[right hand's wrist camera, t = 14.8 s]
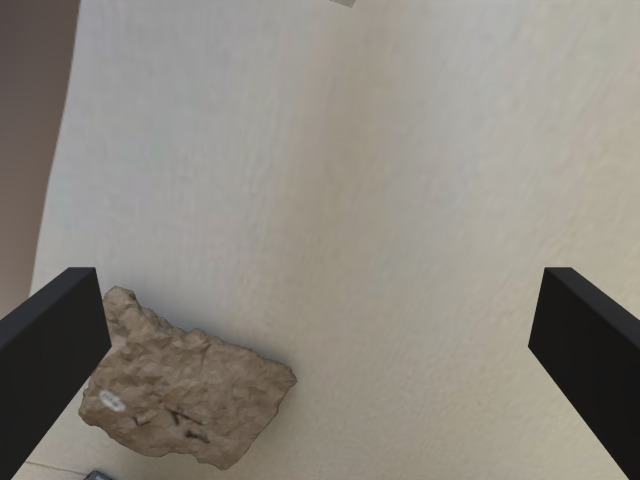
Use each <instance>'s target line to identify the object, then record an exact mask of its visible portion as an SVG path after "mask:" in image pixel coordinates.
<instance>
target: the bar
mask: <svg viewBox="0 0 640 480" xmlns="http://www.w3.org/2000/svg"><path fill="white" fill-rule="evenodd" d="M331 1H334V2H337V3H339V4H342V5H345V6H348V7H353V5H354V3H355V2H356V0H331Z"/></svg>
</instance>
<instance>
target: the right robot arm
mask: <svg viewBox="0 0 640 480" xmlns="http://www.w3.org/2000/svg"><path fill="white" fill-rule="evenodd" d="M111 347H112V344H111V339H110V334H109V330H108V325H107V320H106V316H105V311H104V307H103V302H102V297H101V293H100V288H99V283H98V279H97V274H96V269H95V267H69V268H67V269H66V270H65V271H64V272H62V273H61V274H60V275H58V276H57V277H56V278H55V279H53V280H52V281H51V282H49V283H48V284H47V285H45V286H44V287H43V288H42V289H40V290H39V291H38V292H36V293H35V294H34V295H33V296H31V297H30V298H29V299H27V300H26V301H25V302H24V303H22V304H21V305H20V306H18V307H17V308H16V309H14V310H13V311H12V312H11V313H9V314H8V315H7V316H5V317H4V318H3V319H2V320H0V480H11V479H12V478H13V476H14V475H15V474H16V472H17V471H18V470H19V468H20V467H21V466H22V464H23V463H24V462H25V460H26V459H27V458H28V457H29V455H30V454H31V453H32V451H33V450H34V449H35V447H36V446H37V445H38V443H39V442H40V441H41V439H42V438H43V437H44V435H45V434H46V433H47V432H48V430H49V429H50V428H51V426H52V425H53V424H54V422H55V421H56V420H57V418H58V417H59V416H60V414H61V413H62V412H63V411H64V409H65V408H66V407H67V405H68V404H69V403H70V401H71V400H72V399H73V397H74V396H75V395H76V393H77V392H78V391H79V389H80V388H81V387H82V386H83V384H84V383H85V382H86V380H87V379H88V378H89V376H90V375H91V374H92V372H93V371H94V370H95V368H96V367H97V366H98V365H99V363H100V362H101V361H102V359H103V358H104V357H105V355H106V354H107V353H108V351H109V350H110V349H111ZM528 347H529V349H530V350H531V351H532V353H533V354H534V355H535V357H536V358H537V359H538V361H539V362H540V363H541V365H542V366H543V367H544V368H545V370H546V371H547V372H548V374H549V375H550V376H551V378H552V379H553V380H554V382H555V383H556V384H557V386H558V387H559V388H560V389H561V391H562V392H563V393H564V395H565V396H566V397H567V399H568V400H569V401H570V403H571V404H572V405H573V407H574V408H575V409H576V411H577V412H578V413H579V414H580V416H581V417H582V418H583V420H584V421H585V422H586V424H587V425H588V426H589V428H590V429H591V430H592V432H593V433H594V434H595V435H596V437H597V438H598V439H599V441H600V442H601V443H602V445H603V446H604V447H605V449H606V450H607V451H608V453H609V454H610V455H611V457H612V458H613V459H614V460H615V462H616V463H617V464H618V466H619V467H620V468H621V470H622V471H623V472H624V474H625V475H626V476H627V478H628V479H629V480H640V320H639V319H637V318H636V317H635V316H633V315H632V314H631V313H629V312H628V311H627V310H626V309H624V308H623V307H622V306H620V305H619V304H618V303H617V302H615V301H614V300H613V299H611V298H610V297H609V296H607V295H606V294H605V293H604V292H602V291H601V290H600V289H598V288H597V287H596V286H595V285H593V284H592V283H591V282H589V281H588V280H587V279H585V278H584V277H583V276H582V275H580V274H579V273H578V272H576V271H575V270H574V269H572V268H571V267H545V269H544V274H543V279H542V283H541V288H540V293H539V297H538V302H537V306H536V311H535V316H534V320H533V325H532V330H531V334H530V339H529V344H528Z"/></svg>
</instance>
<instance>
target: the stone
mask: <svg viewBox="0 0 640 480" xmlns="http://www.w3.org/2000/svg"><path fill="white" fill-rule="evenodd" d="M102 302H103V307H104V311H105V316H106V320H107V325H108V330H109V334H110V339H111V344H112V347H111V349H110V350H109V351H108V353H107V354H106V355H105V357H104V358H103V359H102V361H101V362H100V363H99V365H98V366H97V367H96V368H95V370H94V371H93V372H92V374H91V375H90V376H91V377H90V381H89V388H87V389H85V390H84V392H83V395H84V397H83V400H82V403H81V407H80V408H79V413H78V415H79V416H80V417H81V418H82V419H83V421H84V422H85V423H87V424H88V425H90V426H94V425H95V426H98V427H101V428H102V429H103V430H104V431H105V432H107V434H108V435H109V437H110V438H112V439H114V440H116V441H117V442H118V443H120V444H121V445H124V446H126V447H128V448H129V449H131V450H133V451H135V452H137V453H140V454H142V455H145V456H152V457H161V456H164V455H166V454H167V453H171V452H173V453H181V454H187V453H188V454H193V455H194V456H195V457H196V458H197V460H198V462H199V463H209V464H211V465H214V466H216V467H217V468H218V469H220V470H227V469H228V468H229V467H231V466H232V465H233V464H234V463H236V462H237V461H238V460H239V459H240V458H241V457H242V456H243V455H244V454H245V452H246V451H247V450H248V449H249V447H250V445H251V444H252V442H253V441H254V440H255V439H256V437H257V436H258V435H259V433H260V432H261V431H262V430H263V429H264V428H265V427H266V426H267V425H268V424H269V423H270V421H271V420H272V419H273V418H274V417H275V416H276V415H277V413H278V407H279V404H280V403H281V401H282V400H283V398H284V396H285V395H286V393H287V391H288V390H289V388H290V387H292V386H294V385H295V384H296V383H297V379H296V377H295V375H294V374H293V372H292V370H291V368H290V367H287V366H285V365H283V364H281V363H278V362H274V361H271V360H266V359H263V358H262V357H261V356H259V355H257V354H256V353H255V352H254V351H253V350H252V349H247V348H244V347H240V346H238V345H231V344H228V343H225V342H224V341H222V340H221V339H220V338H219V337H214V336H212V335H209V334H207V333H205V332H204V331H203V330H200V329H197V328H195V329H193V330H192V331H190V332H189V333H186V332H185V331H184V330H182V329H180V328H173V326H172V325H171V324H170V323H169V322H168V321H167V320H166V319H164V318H162V317H158V316H157V314H156V313H154V312H153V311H152V310H151V309H150V308H143V307H141V306H140V304H139V302H138V301H137V299H136V297H135V294H134V292H133V291H131V290H127V289H123V288H121V287H118V286H114V287H113V288H112V289H111V290H109V291H108V292H107V293H106V295H105V297H104V299H103V300H102Z"/></svg>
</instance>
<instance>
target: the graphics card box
mask: <svg viewBox="0 0 640 480" xmlns="http://www.w3.org/2000/svg"><path fill="white" fill-rule="evenodd" d="M84 480H111V479H109V478H108V477H106V476H104V475H103V474H101V473H99V472H97V471H92V472H91V473H90V474H89V475H88V476H87V477H86V478H85V479H84Z"/></svg>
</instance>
